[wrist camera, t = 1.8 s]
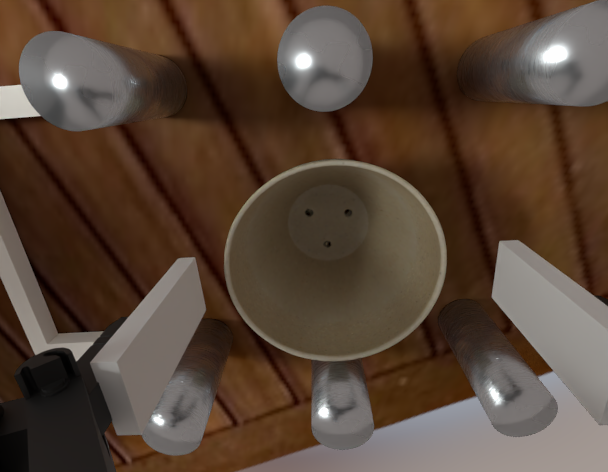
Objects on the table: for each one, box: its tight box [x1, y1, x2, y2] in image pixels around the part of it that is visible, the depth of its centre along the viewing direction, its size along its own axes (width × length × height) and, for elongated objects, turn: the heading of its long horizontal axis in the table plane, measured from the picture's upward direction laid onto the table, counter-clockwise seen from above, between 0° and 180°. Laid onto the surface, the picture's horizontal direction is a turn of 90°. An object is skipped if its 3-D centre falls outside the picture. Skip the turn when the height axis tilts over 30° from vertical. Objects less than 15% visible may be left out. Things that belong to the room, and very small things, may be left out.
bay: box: [0, 85, 104, 361], centre depth 23 cm, size 11×18×1 cm, turn 4°
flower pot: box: [224, 159, 447, 361], centre depth 19 cm, size 10×10×7 cm
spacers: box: [19, 0, 608, 455], centre depth 19 cm, size 21×20×8 cm
